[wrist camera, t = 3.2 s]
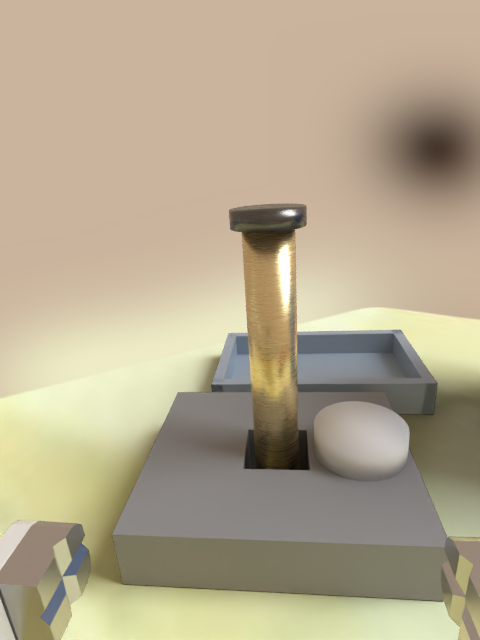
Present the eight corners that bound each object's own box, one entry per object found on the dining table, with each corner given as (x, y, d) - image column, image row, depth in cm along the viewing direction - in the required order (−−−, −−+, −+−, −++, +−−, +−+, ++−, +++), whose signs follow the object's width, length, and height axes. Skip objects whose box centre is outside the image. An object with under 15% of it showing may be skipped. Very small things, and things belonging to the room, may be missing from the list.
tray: (214, 413, 32) (211, 384, 31) (230, 356, 41) (228, 333, 40) (433, 414, 30) (437, 383, 29) (398, 354, 39) (400, 329, 39)
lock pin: (246, 514, 23) (224, 214, 17) (251, 471, 26) (233, 206, 20) (310, 516, 22) (308, 209, 17) (307, 472, 25) (304, 202, 20)
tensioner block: (122, 584, 19) (105, 507, 18) (182, 428, 30) (175, 373, 29) (443, 601, 18) (456, 518, 16) (382, 430, 29) (386, 371, 27)
